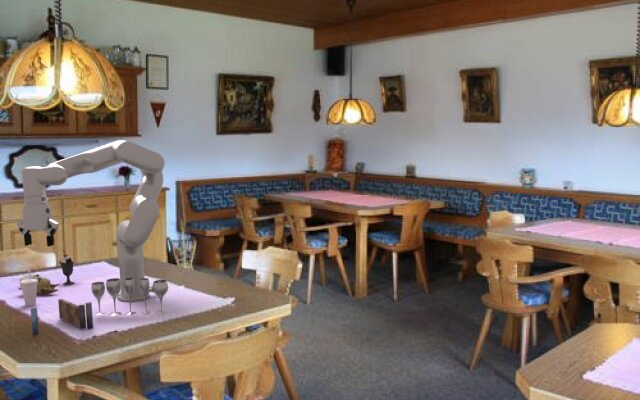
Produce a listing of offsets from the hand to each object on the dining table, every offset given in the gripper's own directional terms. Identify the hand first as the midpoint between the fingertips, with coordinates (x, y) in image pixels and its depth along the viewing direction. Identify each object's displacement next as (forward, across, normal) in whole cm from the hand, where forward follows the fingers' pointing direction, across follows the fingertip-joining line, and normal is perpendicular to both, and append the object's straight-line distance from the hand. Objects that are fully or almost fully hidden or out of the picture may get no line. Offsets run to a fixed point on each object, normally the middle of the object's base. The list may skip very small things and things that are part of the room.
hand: (39, 245), depth 238 cm
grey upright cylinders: (+26, -21, +18) cm, 38 cm away
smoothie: (+26, +12, -6) cm, 29 cm away
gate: (+25, -20, +11) cm, 34 cm away
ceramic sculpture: (+26, +19, -21) cm, 38 cm away
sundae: (+26, +17, -37) cm, 48 cm away
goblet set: (+26, -34, -4) cm, 43 cm away
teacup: (+26, +30, -31) cm, 50 cm away
